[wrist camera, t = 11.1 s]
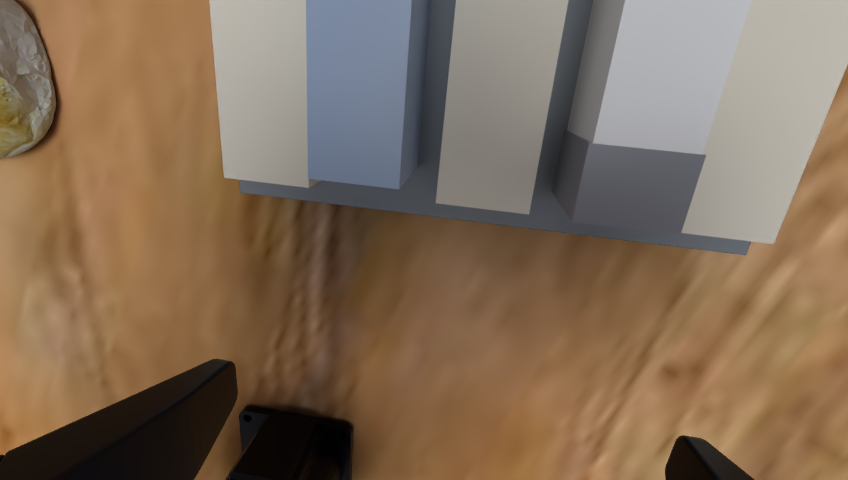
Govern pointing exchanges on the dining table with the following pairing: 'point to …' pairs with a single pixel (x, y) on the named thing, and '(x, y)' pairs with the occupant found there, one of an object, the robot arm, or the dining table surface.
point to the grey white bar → (645, 110)
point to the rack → (533, 115)
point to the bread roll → (23, 82)
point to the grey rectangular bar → (365, 89)
